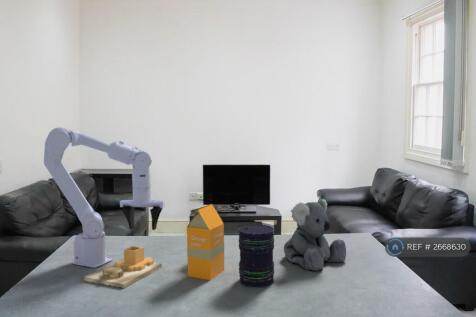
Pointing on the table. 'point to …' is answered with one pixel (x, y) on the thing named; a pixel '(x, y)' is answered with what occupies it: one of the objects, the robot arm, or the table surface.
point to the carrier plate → (120, 275)
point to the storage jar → (256, 255)
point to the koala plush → (312, 238)
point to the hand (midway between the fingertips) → (143, 228)
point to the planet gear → (134, 259)
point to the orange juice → (205, 244)
